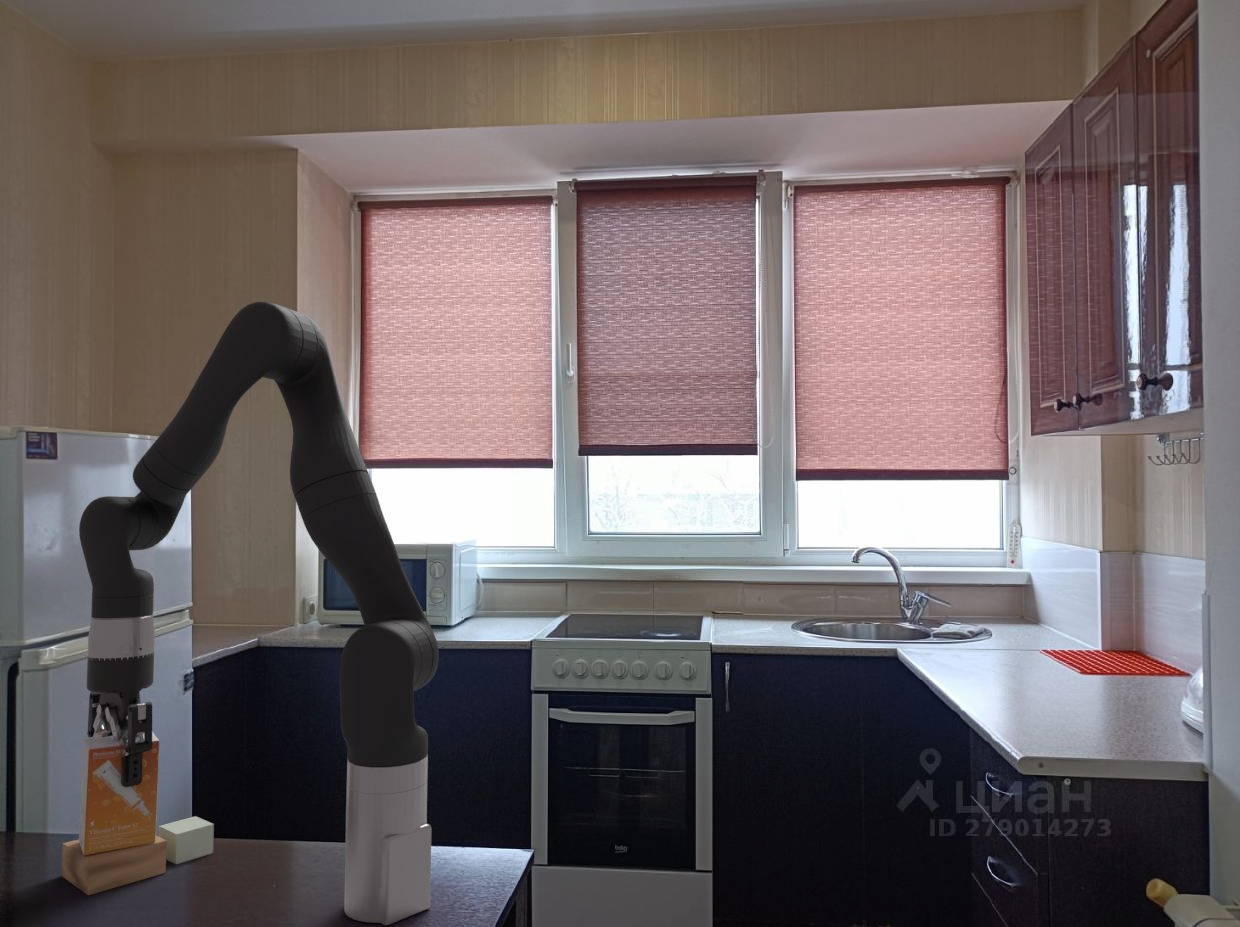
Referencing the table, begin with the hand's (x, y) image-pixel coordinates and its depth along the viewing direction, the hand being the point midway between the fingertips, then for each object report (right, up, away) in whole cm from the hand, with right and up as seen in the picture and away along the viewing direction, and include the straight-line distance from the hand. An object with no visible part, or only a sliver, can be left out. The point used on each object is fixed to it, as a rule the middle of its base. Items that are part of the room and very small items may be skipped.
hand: (117, 779), depth 114 cm
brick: (+6, -12, +6) cm, 15 cm away
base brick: (0, -12, -1) cm, 12 cm away
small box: (0, -8, -1) cm, 8 cm away
